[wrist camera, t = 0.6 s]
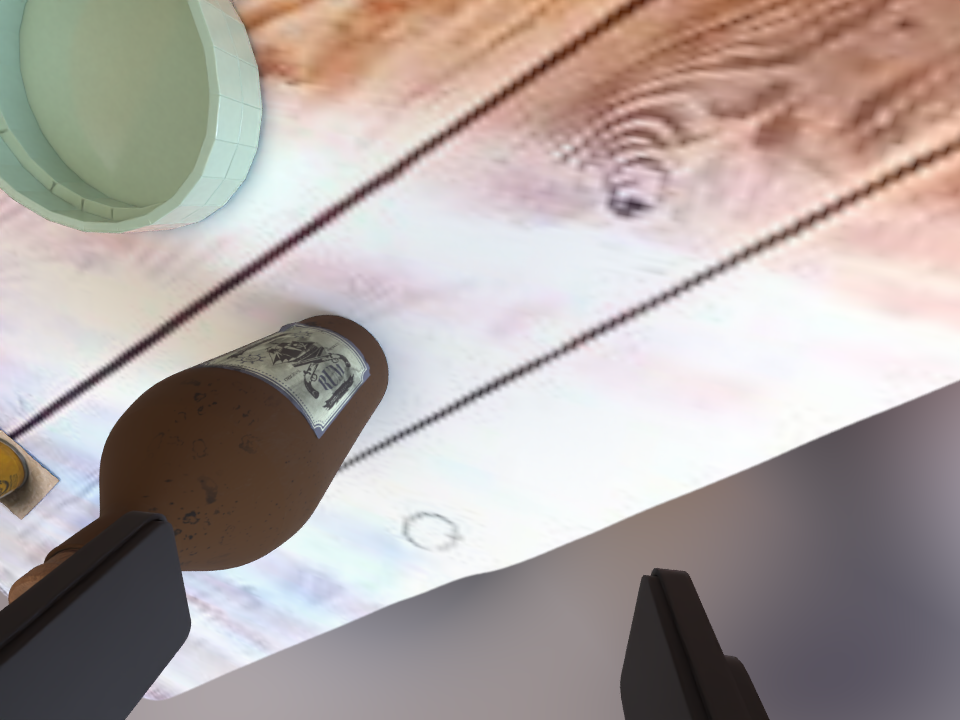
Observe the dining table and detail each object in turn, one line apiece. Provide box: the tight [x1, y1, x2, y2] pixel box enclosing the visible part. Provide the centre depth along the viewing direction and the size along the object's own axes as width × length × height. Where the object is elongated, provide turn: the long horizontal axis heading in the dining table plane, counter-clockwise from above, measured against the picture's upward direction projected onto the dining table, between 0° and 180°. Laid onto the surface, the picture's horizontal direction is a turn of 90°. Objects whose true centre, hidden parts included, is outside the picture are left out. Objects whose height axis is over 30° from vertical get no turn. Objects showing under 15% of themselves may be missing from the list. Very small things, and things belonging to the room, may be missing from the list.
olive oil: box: [8, 315, 388, 604], centre depth 28 cm, size 11×11×25 cm
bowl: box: [0, 0, 262, 233], centre depth 31 cm, size 19×19×6 cm
